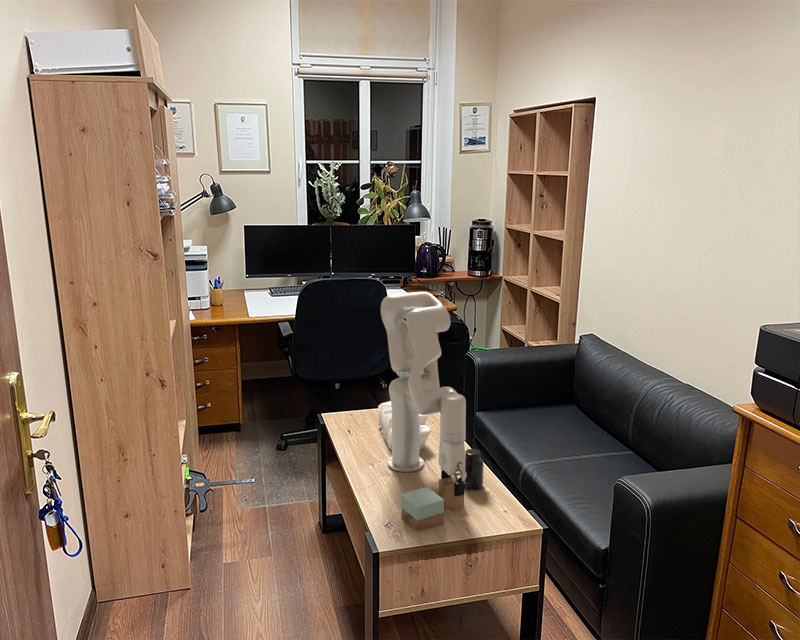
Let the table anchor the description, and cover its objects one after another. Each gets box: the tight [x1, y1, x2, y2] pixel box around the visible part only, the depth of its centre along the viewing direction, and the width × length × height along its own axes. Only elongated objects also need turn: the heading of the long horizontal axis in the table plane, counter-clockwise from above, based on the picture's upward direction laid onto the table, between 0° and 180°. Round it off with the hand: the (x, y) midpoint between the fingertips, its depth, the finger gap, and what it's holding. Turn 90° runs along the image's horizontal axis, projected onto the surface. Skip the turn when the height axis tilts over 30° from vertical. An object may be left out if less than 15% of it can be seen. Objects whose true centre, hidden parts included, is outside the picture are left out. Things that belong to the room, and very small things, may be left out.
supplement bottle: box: [465, 448, 484, 491], centre depth 209 cm, size 7×7×12 cm
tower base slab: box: [400, 507, 445, 533], centre depth 189 cm, size 9×9×4 cm
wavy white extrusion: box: [377, 400, 432, 450], centre depth 250 cm, size 35×16×11 cm, turn 9°
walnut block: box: [437, 476, 465, 510], centre depth 199 cm, size 6×6×7 cm
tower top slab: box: [400, 486, 445, 521], centre depth 188 cm, size 9×9×4 cm
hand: (452, 488), depth 198 cm, fingers open, 9 cm apart
